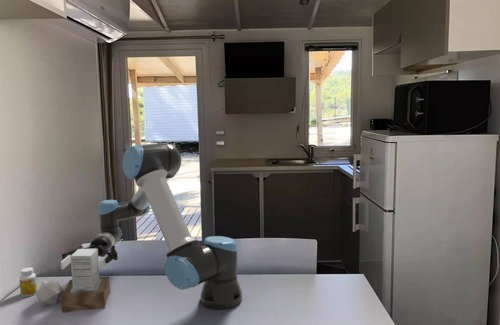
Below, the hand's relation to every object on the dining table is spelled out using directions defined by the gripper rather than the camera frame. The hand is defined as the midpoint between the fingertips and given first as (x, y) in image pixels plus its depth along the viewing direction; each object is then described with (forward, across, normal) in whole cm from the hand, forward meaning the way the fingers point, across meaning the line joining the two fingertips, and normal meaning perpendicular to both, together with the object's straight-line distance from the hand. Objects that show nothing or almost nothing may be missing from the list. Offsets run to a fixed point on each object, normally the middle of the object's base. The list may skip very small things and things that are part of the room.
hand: (81, 265), depth 136 cm
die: (-3, +13, -15) cm, 20 cm away
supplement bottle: (-10, +25, -15) cm, 31 cm away
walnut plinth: (-3, 0, -15) cm, 15 cm away
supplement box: (-3, 0, -9) cm, 10 cm away
